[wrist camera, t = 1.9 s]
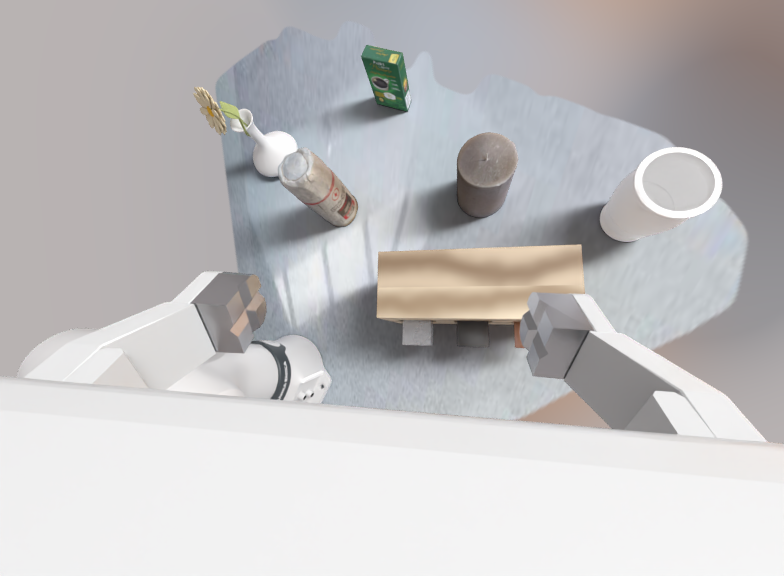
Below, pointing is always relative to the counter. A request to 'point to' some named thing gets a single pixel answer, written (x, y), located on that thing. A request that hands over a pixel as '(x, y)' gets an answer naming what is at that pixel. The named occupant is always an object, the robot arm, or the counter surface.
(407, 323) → the gray metal cube
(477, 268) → the wooden holder box
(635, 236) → the jar
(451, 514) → the robot arm
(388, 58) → the coffee box
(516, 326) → the terracotta button
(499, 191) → the pillar candle
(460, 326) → the dark grey cylinder
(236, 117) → the flower in vase
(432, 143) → the counter surface
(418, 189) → the counter surface
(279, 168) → the paper wrapped package
